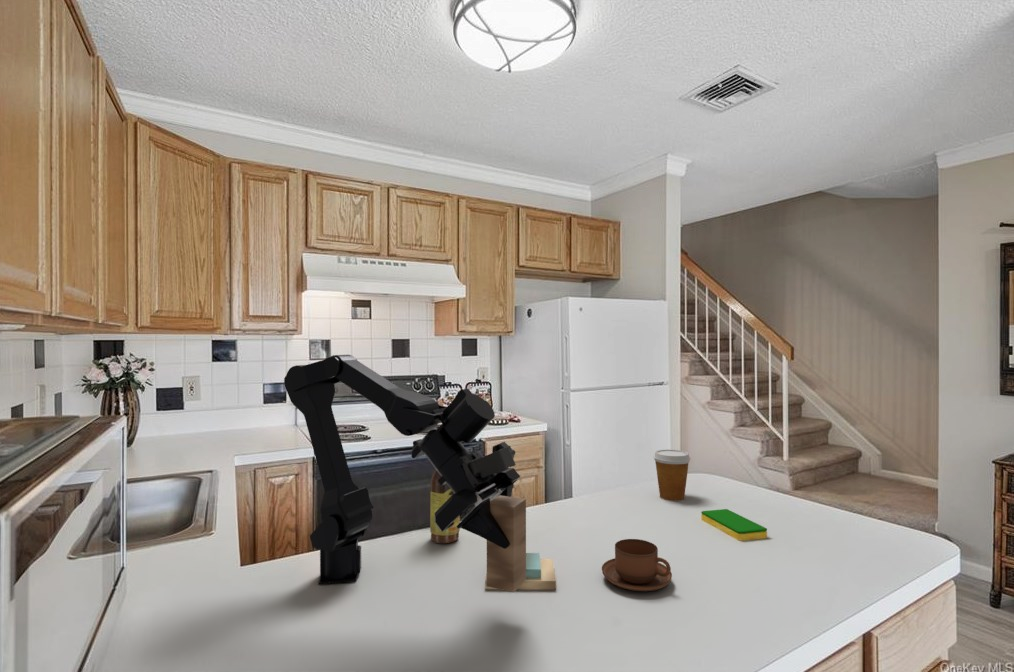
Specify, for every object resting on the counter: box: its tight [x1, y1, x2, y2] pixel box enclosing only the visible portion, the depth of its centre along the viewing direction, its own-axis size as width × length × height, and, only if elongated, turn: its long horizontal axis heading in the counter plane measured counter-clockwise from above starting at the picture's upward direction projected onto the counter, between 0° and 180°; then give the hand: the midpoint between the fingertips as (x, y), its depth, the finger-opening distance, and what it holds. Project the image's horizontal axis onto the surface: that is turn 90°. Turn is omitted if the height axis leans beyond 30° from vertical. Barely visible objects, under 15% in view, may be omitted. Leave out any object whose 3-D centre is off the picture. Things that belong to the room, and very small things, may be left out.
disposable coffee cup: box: [653, 448, 691, 502], centre depth 142 cm, size 10×10×12 cm
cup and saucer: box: [601, 538, 673, 592], centre depth 93 cm, size 12×12×6 cm
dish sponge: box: [701, 508, 768, 542], centre depth 119 cm, size 7×14×2 cm, turn 13°
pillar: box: [486, 495, 527, 593], centre depth 81 cm, size 4×4×12 cm
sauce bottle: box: [429, 469, 461, 544], centre depth 113 cm, size 6×6×20 cm
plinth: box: [484, 552, 557, 591], centre depth 94 cm, size 12×9×3 cm
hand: (514, 541), depth 80 cm, fingers closed on pillar, 4 cm apart
